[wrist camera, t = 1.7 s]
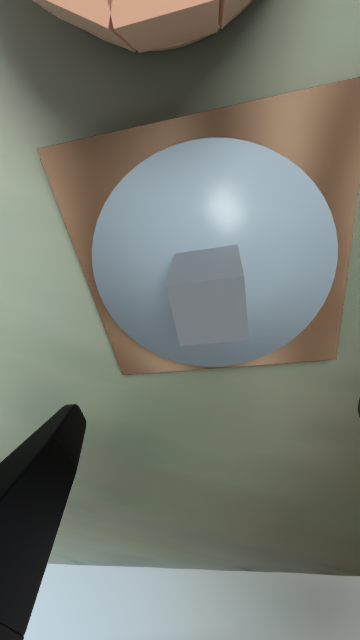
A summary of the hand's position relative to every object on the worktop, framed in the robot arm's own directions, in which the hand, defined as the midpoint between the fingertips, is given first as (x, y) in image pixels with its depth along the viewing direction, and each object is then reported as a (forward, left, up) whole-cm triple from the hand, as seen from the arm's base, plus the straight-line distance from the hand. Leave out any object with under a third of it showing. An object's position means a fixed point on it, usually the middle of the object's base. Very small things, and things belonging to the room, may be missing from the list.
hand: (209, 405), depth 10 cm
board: (0, 0, -11) cm, 11 cm away
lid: (0, 0, -11) cm, 11 cm away
